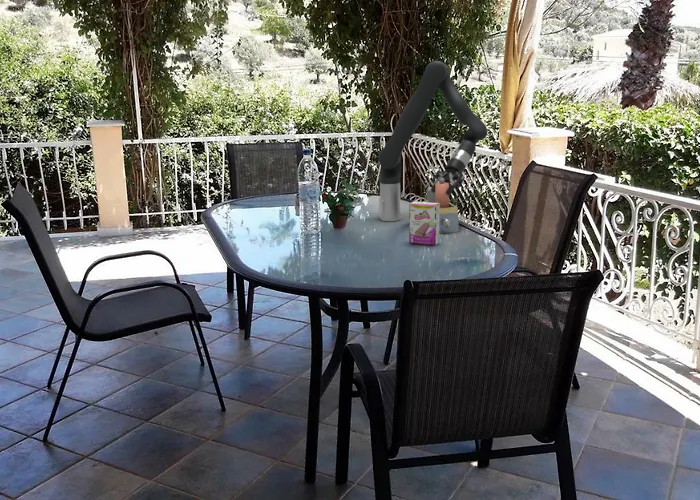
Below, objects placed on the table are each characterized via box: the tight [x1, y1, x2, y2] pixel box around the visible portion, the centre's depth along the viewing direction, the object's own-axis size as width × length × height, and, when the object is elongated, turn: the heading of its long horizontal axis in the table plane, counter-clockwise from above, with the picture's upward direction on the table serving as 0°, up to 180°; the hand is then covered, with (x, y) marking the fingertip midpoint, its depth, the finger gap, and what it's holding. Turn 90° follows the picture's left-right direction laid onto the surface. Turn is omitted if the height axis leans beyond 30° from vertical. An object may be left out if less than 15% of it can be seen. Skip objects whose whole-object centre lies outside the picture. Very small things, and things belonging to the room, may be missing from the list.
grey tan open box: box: [439, 201, 460, 234], centre depth 278 cm, size 11×16×10 cm
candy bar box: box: [408, 200, 440, 247], centre depth 257 cm, size 11×5×16 cm, turn 65°
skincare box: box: [427, 186, 436, 203], centre depth 291 cm, size 8×7×16 cm
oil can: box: [435, 178, 450, 208], centre depth 276 cm, size 6×6×14 cm
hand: (439, 192), depth 275 cm, fingers open, 8 cm apart
